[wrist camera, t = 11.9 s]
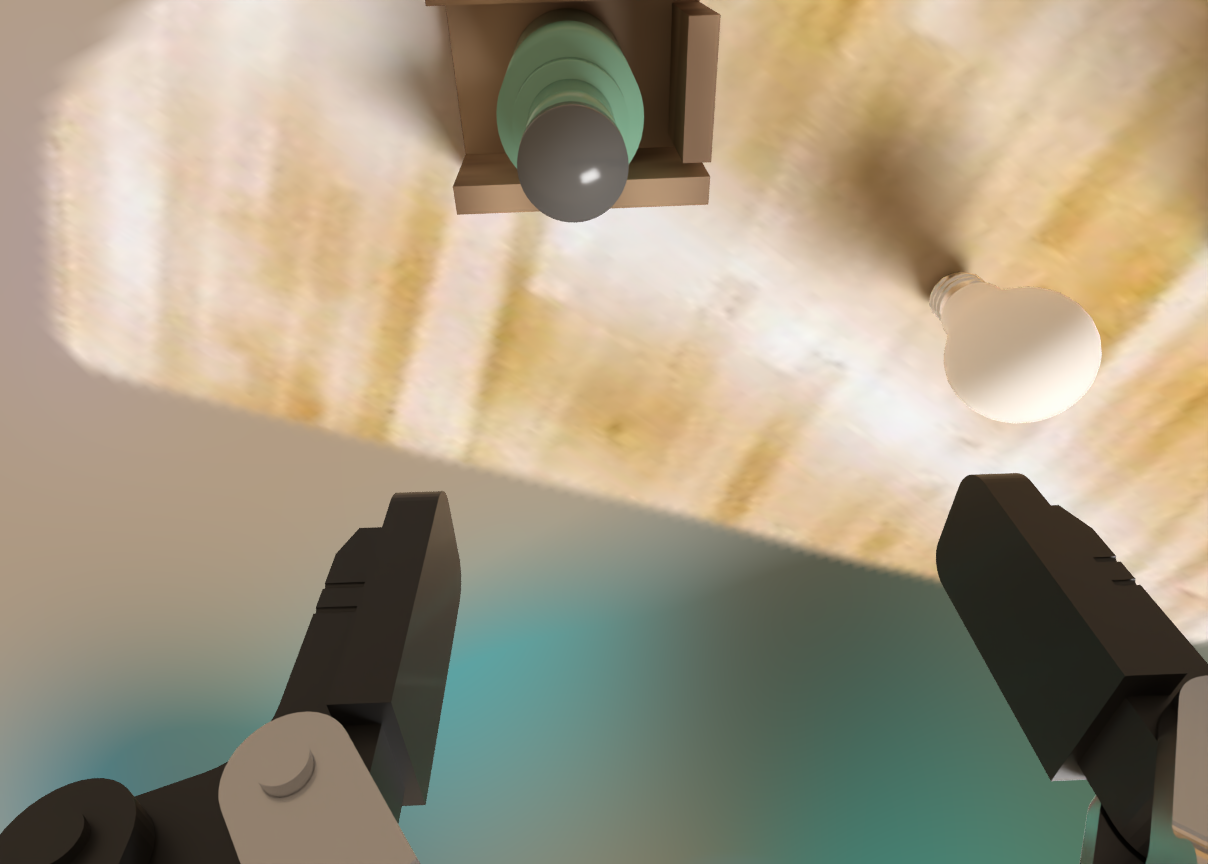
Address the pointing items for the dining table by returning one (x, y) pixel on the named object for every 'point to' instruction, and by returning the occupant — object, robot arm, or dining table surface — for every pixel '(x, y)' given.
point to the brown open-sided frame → (659, 65)
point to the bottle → (570, 115)
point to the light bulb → (1015, 348)
